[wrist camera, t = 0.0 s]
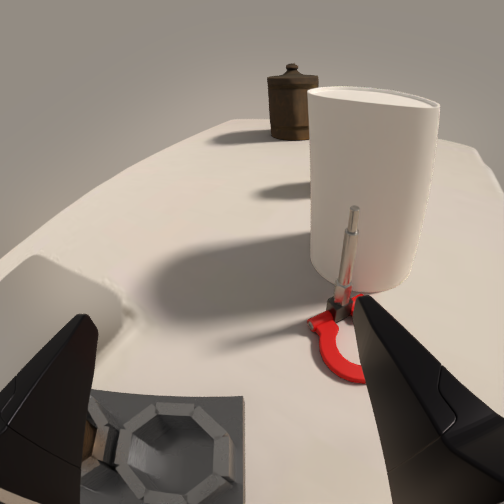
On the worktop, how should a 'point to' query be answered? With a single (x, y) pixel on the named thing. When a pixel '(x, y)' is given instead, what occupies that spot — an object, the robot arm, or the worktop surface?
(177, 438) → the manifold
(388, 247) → the canister
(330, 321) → the tow hook
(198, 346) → the worktop surface
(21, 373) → the robot arm
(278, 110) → the wooden container
